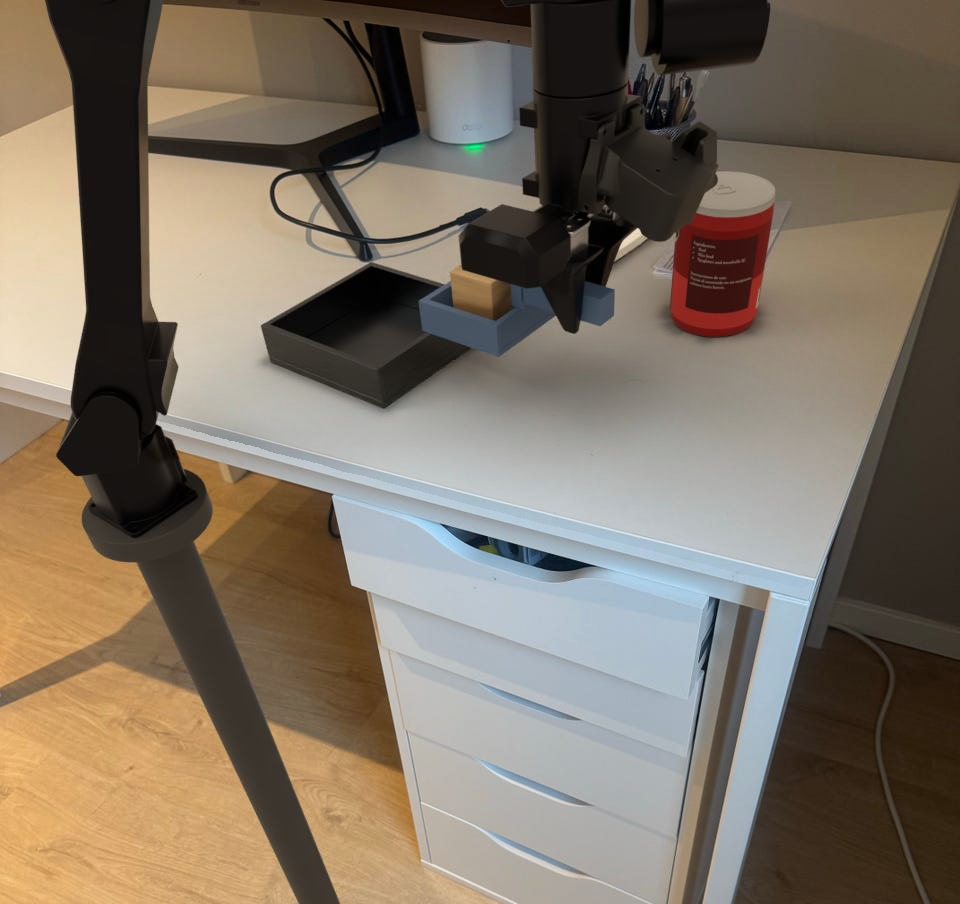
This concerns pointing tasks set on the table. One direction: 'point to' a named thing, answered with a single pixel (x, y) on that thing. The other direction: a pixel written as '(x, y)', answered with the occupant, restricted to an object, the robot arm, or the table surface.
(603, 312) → the scoop
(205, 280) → the table surface
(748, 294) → the canned food
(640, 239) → the white plastic blade
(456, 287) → the block
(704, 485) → the table surface
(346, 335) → the black square tray
